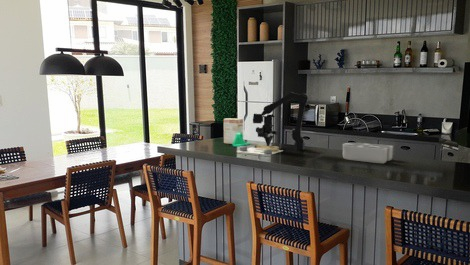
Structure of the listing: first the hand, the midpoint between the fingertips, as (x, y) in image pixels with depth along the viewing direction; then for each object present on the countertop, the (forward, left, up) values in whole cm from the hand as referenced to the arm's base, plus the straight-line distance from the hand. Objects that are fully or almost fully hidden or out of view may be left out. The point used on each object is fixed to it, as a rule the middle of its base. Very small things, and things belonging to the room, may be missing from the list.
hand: (268, 145), depth 281 cm
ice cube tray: (-66, -4, -4) cm, 66 cm away
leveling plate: (0, +11, -3) cm, 12 cm away
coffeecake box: (+40, -16, -4) cm, 43 cm away
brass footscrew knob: (-2, +6, -2) cm, 6 cm away
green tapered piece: (+26, -6, -4) cm, 27 cm away
